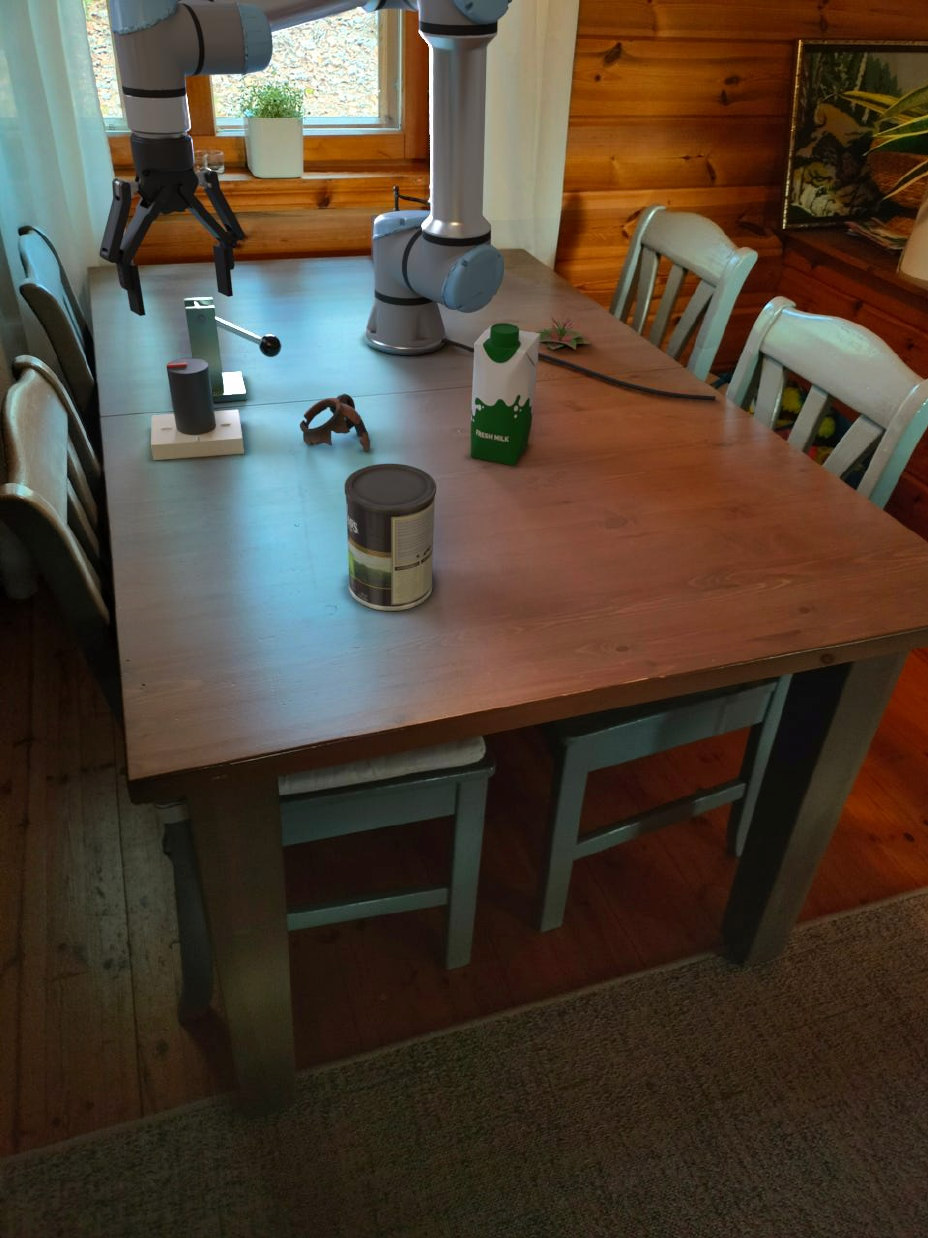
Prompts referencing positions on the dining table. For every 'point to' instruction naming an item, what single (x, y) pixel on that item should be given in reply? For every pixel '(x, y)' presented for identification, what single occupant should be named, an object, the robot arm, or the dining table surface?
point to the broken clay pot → (334, 421)
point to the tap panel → (196, 438)
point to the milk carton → (503, 392)
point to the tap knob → (191, 395)
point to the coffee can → (390, 535)
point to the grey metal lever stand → (211, 350)
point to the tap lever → (252, 337)
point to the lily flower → (561, 336)
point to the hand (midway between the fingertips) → (183, 303)
